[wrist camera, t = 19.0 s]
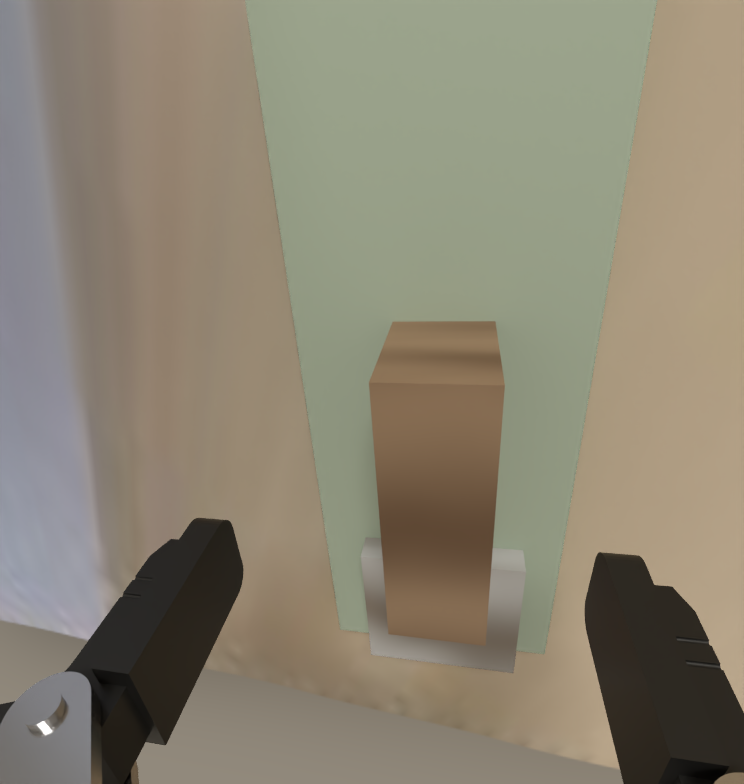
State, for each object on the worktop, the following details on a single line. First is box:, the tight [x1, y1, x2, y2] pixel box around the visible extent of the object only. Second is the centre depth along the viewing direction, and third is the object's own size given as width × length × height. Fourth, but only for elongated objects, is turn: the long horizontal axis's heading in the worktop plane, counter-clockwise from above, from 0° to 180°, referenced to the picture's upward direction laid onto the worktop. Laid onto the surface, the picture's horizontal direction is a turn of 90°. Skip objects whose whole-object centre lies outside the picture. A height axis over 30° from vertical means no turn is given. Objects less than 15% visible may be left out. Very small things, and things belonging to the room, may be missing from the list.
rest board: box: [245, 0, 657, 654], centre depth 16 cm, size 9×23×1 cm, turn 4°
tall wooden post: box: [361, 321, 526, 673], centre depth 16 cm, size 15×6×4 cm, turn 4°
